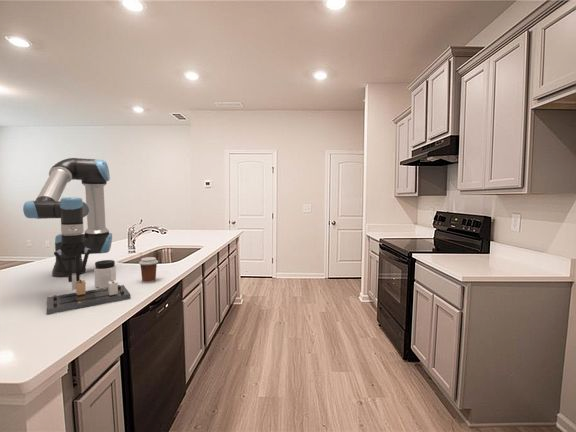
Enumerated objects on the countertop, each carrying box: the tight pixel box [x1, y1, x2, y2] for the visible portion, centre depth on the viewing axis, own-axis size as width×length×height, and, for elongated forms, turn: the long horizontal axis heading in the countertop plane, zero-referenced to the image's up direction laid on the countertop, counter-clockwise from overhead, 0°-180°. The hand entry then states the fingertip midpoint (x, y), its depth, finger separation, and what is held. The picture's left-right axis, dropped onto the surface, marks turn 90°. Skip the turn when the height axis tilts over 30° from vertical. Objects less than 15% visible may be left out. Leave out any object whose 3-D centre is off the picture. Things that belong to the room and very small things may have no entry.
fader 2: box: [107, 279, 119, 295], centre depth 124 cm, size 4×3×6 cm
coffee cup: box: [138, 256, 159, 284], centre depth 150 cm, size 9×9×12 cm
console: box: [46, 284, 131, 315], centre depth 122 cm, size 16×28×3 cm, turn 129°
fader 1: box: [75, 279, 87, 295], centre depth 123 cm, size 4×3×6 cm
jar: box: [93, 259, 117, 289], centre depth 141 cm, size 9×8×12 cm
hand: (74, 288), depth 121 cm, fingers closed
